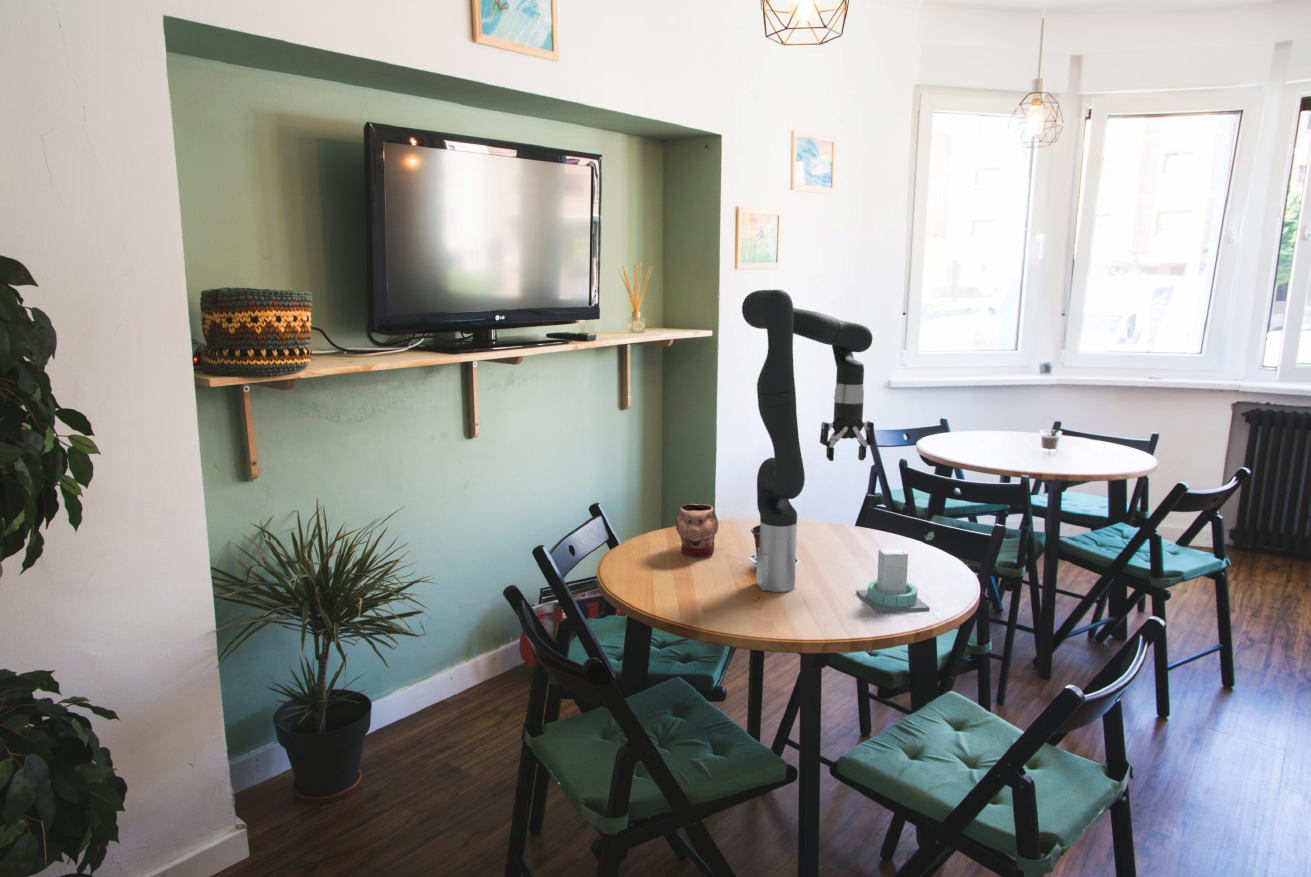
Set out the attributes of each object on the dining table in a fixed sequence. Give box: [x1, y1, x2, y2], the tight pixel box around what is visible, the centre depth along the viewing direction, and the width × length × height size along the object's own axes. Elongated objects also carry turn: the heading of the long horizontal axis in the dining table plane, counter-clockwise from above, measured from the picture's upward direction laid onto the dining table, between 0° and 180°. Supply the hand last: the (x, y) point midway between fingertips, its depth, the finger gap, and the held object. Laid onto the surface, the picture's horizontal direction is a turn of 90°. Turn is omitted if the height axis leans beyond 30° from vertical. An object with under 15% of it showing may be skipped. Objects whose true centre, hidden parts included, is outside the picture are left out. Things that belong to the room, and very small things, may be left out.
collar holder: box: [855, 579, 931, 614], centre depth 196 cm, size 13×13×4 cm
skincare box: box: [876, 548, 909, 595], centre depth 195 cm, size 6×4×12 cm
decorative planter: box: [675, 503, 719, 559], centre depth 232 cm, size 20×12×14 cm, turn 179°
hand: (846, 460), depth 216 cm, fingers open, 8 cm apart
